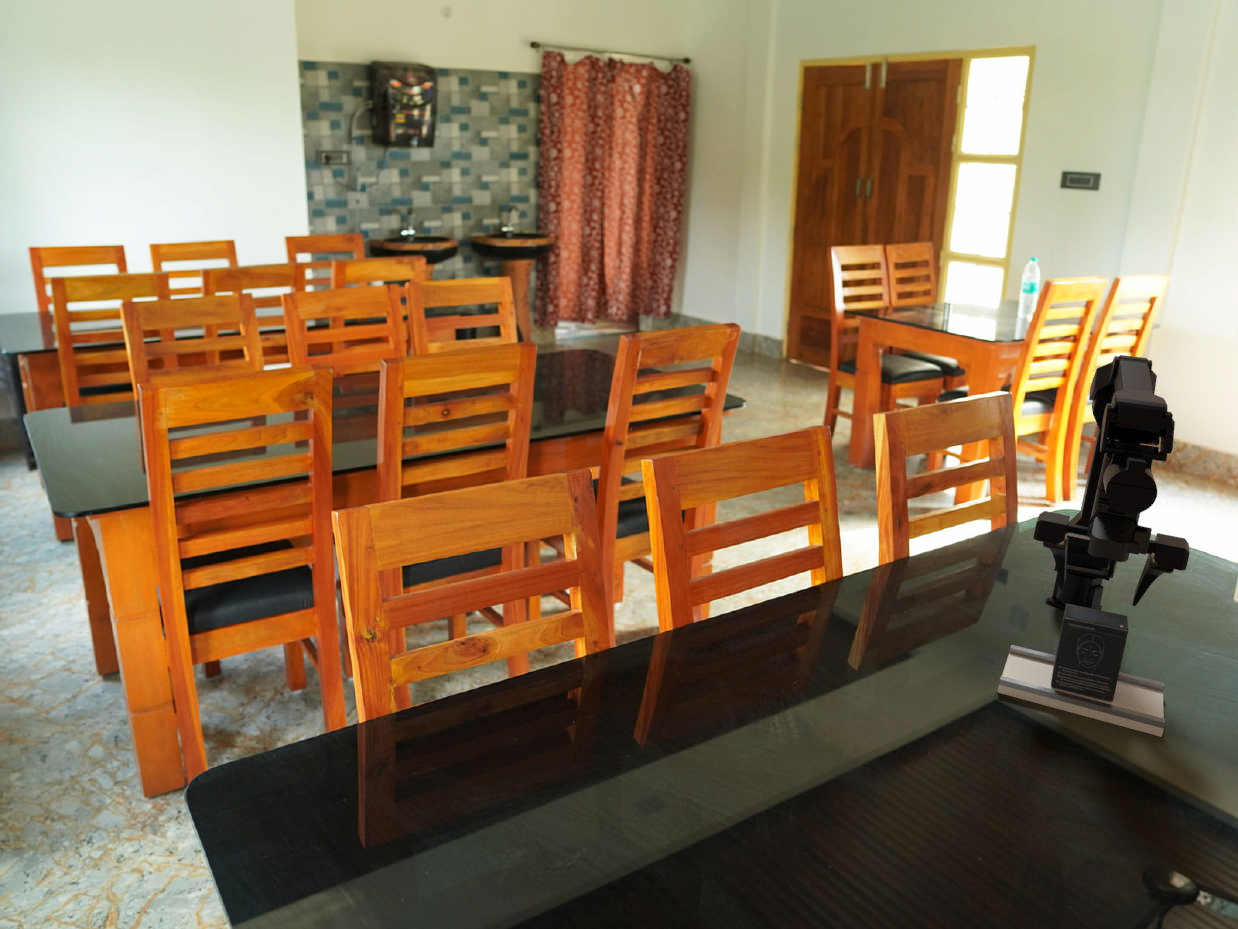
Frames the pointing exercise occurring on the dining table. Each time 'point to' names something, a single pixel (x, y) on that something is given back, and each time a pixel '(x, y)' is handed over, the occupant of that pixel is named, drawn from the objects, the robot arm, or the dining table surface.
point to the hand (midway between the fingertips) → (1097, 597)
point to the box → (1090, 652)
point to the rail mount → (1129, 708)
